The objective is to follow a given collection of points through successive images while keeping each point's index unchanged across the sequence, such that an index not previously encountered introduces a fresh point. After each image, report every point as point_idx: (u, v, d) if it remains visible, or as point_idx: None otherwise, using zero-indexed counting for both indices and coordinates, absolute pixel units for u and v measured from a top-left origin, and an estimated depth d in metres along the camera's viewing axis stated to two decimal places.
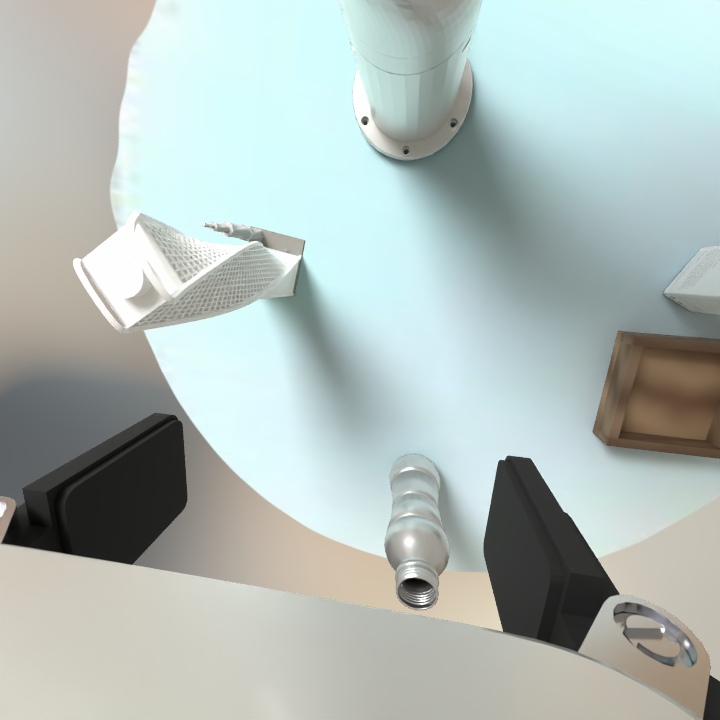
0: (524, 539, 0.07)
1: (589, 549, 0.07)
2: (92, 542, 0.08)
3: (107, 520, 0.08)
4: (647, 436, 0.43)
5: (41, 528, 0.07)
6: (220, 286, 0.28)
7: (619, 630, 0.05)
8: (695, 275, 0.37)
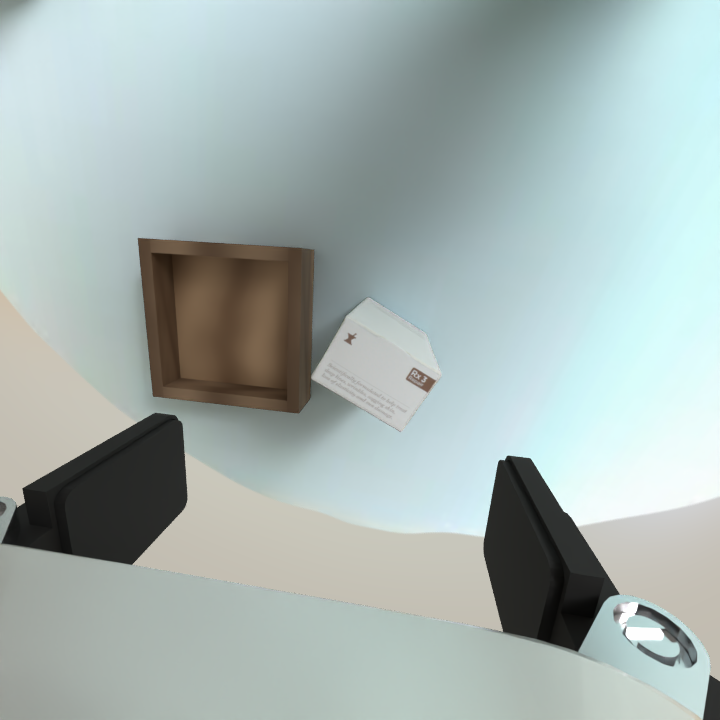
0: (524, 539, 0.07)
1: (589, 549, 0.07)
2: (92, 542, 0.08)
3: (107, 520, 0.08)
4: (168, 302, 0.31)
5: (41, 528, 0.07)
6: None
7: (619, 630, 0.05)
8: (389, 314, 0.27)
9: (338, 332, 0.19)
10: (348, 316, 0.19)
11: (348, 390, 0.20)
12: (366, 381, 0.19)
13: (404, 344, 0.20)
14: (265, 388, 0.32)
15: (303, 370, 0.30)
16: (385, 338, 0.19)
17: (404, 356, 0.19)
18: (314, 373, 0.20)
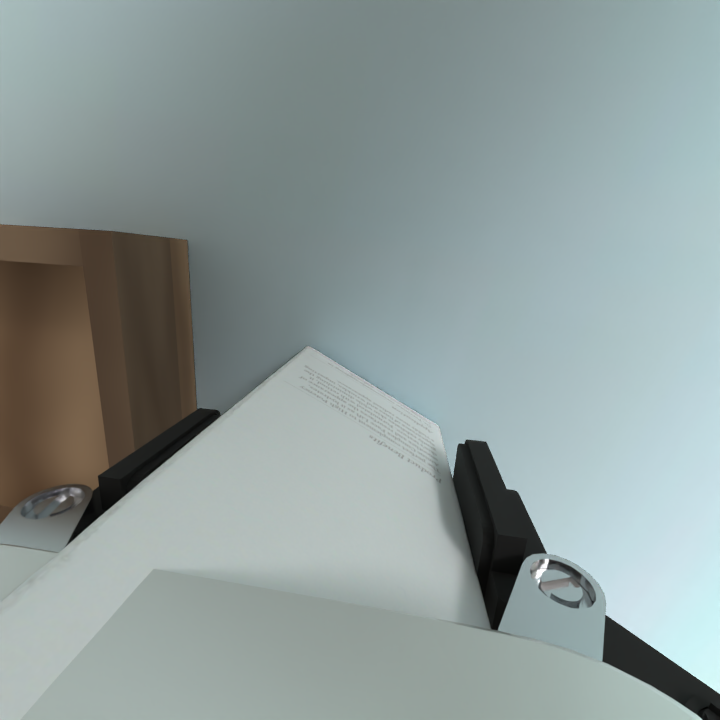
0: (469, 511, 0.08)
1: (529, 520, 0.08)
2: None
3: None
4: None
5: None
6: None
7: (533, 580, 0.06)
8: (348, 400, 0.11)
9: None
10: None
11: None
12: None
13: None
14: None
15: None
16: None
17: None
18: None
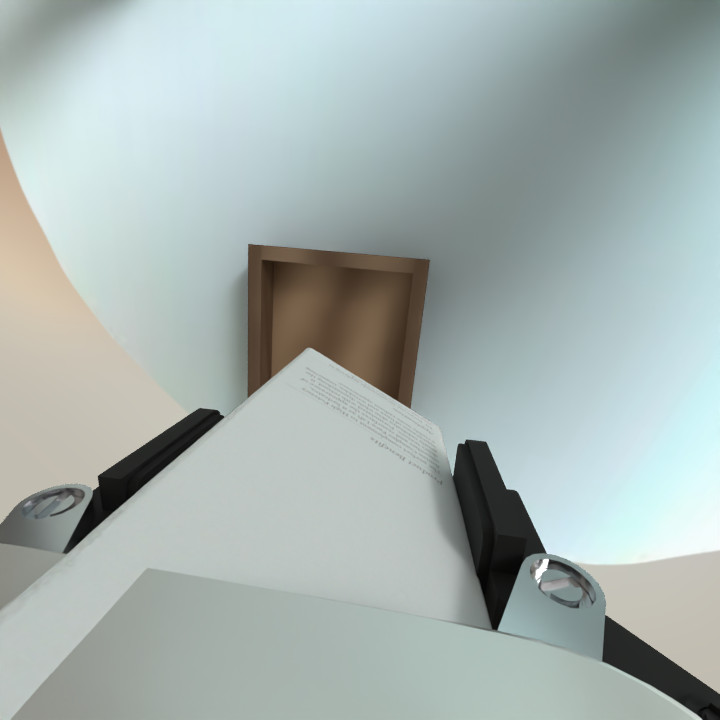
0: (469, 511, 0.08)
1: (529, 520, 0.08)
2: None
3: None
4: (268, 311, 0.29)
5: None
6: None
7: (533, 581, 0.06)
8: (349, 402, 0.11)
9: None
10: None
11: None
12: None
13: None
14: None
15: None
16: None
17: None
18: None
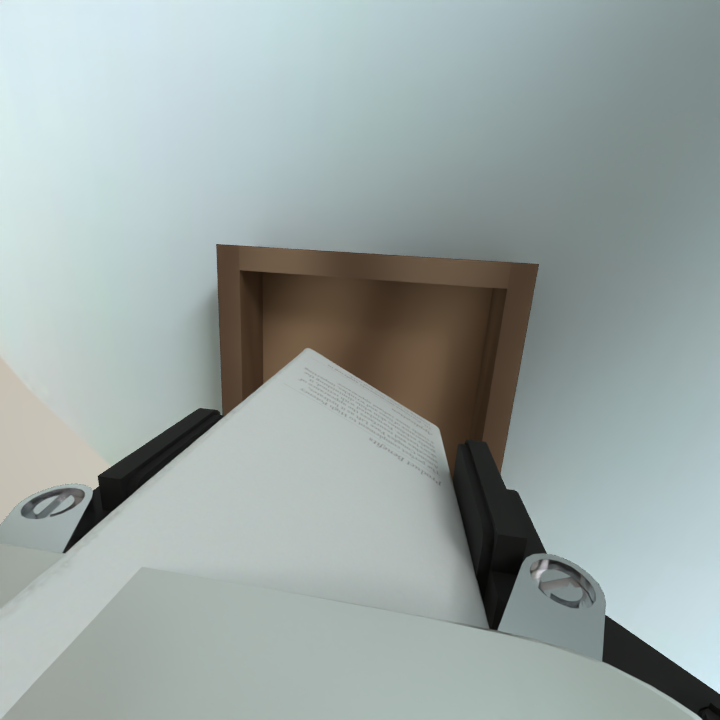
0: (469, 511, 0.08)
1: (529, 520, 0.08)
2: None
3: None
4: (255, 353, 0.18)
5: None
6: None
7: (533, 580, 0.06)
8: (348, 402, 0.11)
9: None
10: None
11: None
12: None
13: None
14: None
15: None
16: None
17: None
18: None
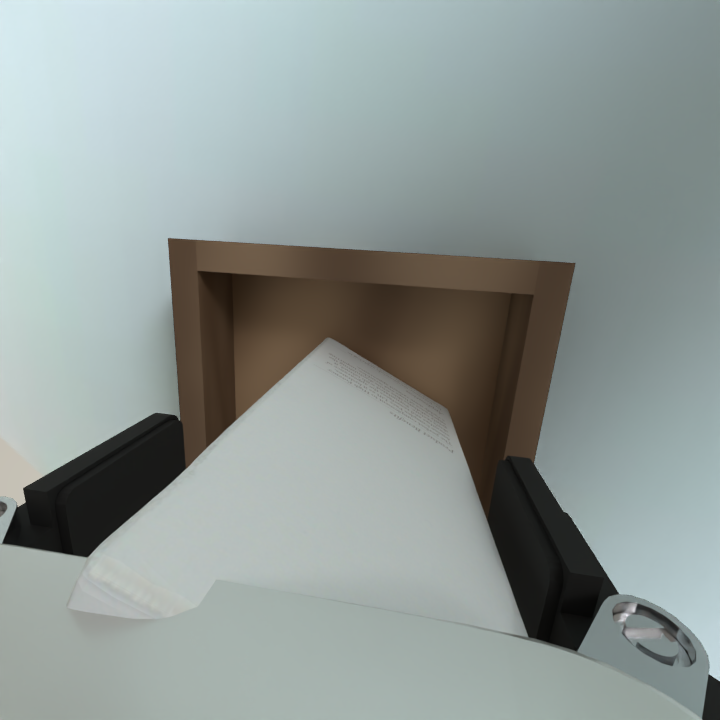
0: (523, 539, 0.07)
1: (588, 549, 0.07)
2: (93, 542, 0.08)
3: (107, 520, 0.08)
4: (224, 370, 0.15)
5: (42, 528, 0.07)
6: None
7: (618, 629, 0.05)
8: (369, 383, 0.12)
9: None
10: (102, 558, 0.03)
11: None
12: None
13: (405, 608, 0.05)
14: None
15: None
16: None
17: None
18: None
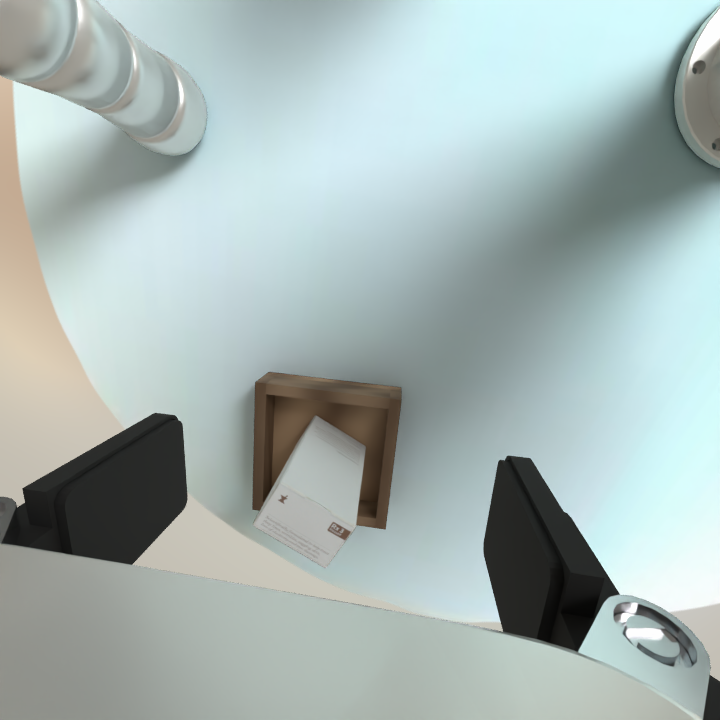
0: (524, 539, 0.07)
1: (589, 549, 0.07)
2: (92, 542, 0.08)
3: (107, 520, 0.08)
4: (270, 428, 0.35)
5: (41, 528, 0.07)
6: None
7: (619, 630, 0.05)
8: (330, 438, 0.32)
9: (273, 493, 0.24)
10: (281, 481, 0.24)
11: (282, 536, 0.24)
12: (296, 530, 0.24)
13: (329, 496, 0.25)
14: None
15: None
16: (311, 498, 0.24)
17: (325, 513, 0.24)
18: (255, 522, 0.24)
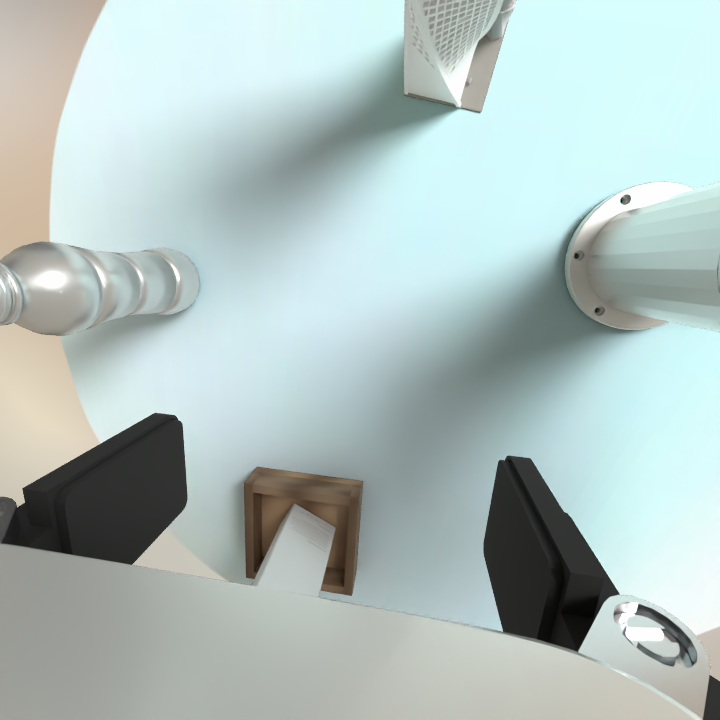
0: (524, 539, 0.07)
1: (589, 549, 0.07)
2: (92, 542, 0.08)
3: (107, 520, 0.08)
4: (258, 513, 0.43)
5: (41, 528, 0.07)
6: None
7: (619, 630, 0.05)
8: (304, 528, 0.40)
9: None
10: (257, 585, 0.32)
11: None
12: None
13: (295, 591, 0.33)
14: None
15: (355, 564, 0.43)
16: None
17: None
18: None
